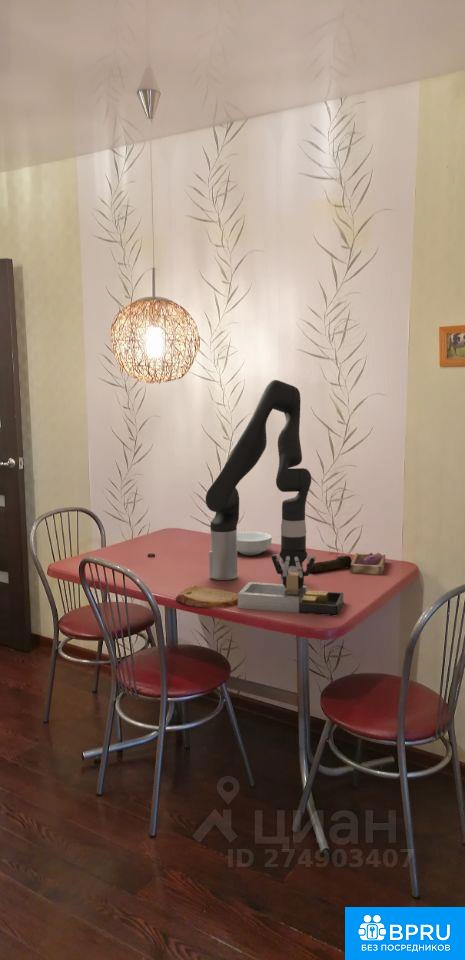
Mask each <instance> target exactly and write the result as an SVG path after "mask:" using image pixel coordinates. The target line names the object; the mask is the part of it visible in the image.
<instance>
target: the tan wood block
mask: <svg viewBox="0 0 465 960" xmlns="http://www.w3.org/2000/svg"><path fill="white" fill-rule="evenodd" d="M302 603H314V604H316V596H304V597H303V598H302Z"/></svg>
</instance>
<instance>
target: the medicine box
mask: <svg viewBox="0 0 465 960" xmlns="http://www.w3.org/2000/svg"><path fill="white" fill-rule="evenodd" d="M280 565H281V568H282V570H284V565H285V563H284V561H283V560H282V558H281V557H280ZM288 572H298V570H297V567H295V566H290V567H289V571H288ZM280 579H281V580H282V581H283V576H282V575H281V574H280Z"/></svg>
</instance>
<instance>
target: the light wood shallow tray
mask: <svg viewBox="0 0 465 960" xmlns="http://www.w3.org/2000/svg"><path fill="white" fill-rule="evenodd" d="M369 554H370V553H355V555H354V556H353V558H352V559H351V560H352V562H351V565H350V567H349V568H350V569H349V570H350V574H363V575H365V574H366V575H379V576H380V575H383V571H384V569H385V565H386V554H381V555H382V556H378V557H383V558H381V561H380V562H379V563H378V565H379V566H376V565H362V564H360V565H359V561H358V560H361V559H365V558H366V557H367V556H368V555H369ZM374 554H375V553H372V555H374ZM374 558H377V557H372V558H371V559H374ZM356 563H358V564H356Z"/></svg>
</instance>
